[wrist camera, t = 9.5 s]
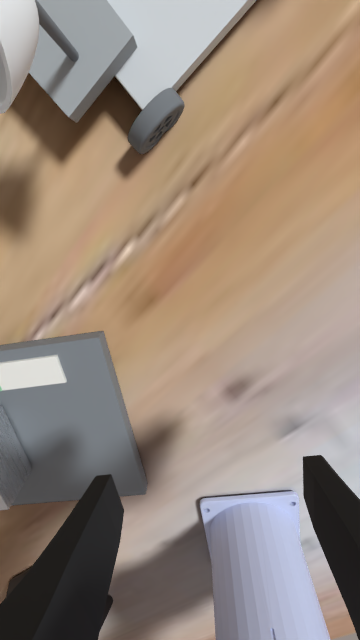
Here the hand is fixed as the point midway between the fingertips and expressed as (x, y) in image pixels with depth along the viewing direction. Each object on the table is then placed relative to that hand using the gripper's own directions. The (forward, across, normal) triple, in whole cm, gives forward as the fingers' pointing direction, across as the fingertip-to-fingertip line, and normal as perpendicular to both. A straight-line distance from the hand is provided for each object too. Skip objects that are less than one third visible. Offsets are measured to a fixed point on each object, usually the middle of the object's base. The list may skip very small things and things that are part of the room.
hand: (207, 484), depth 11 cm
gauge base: (+9, +15, +4) cm, 18 cm away
